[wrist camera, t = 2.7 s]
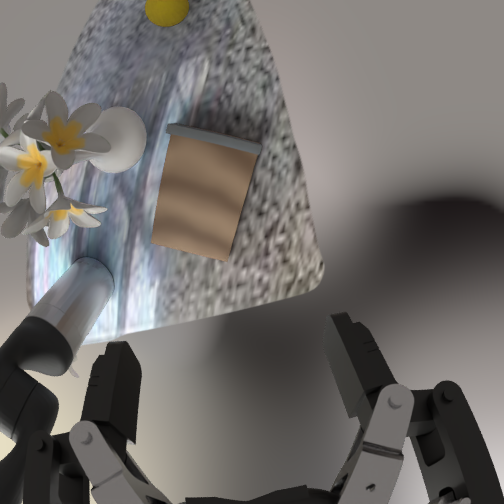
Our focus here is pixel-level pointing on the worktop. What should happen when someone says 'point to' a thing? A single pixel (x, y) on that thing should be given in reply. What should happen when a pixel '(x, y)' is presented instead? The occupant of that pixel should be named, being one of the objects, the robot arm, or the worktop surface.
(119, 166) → the flower vase
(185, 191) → the stop board
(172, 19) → the lemon
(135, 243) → the worktop surface
